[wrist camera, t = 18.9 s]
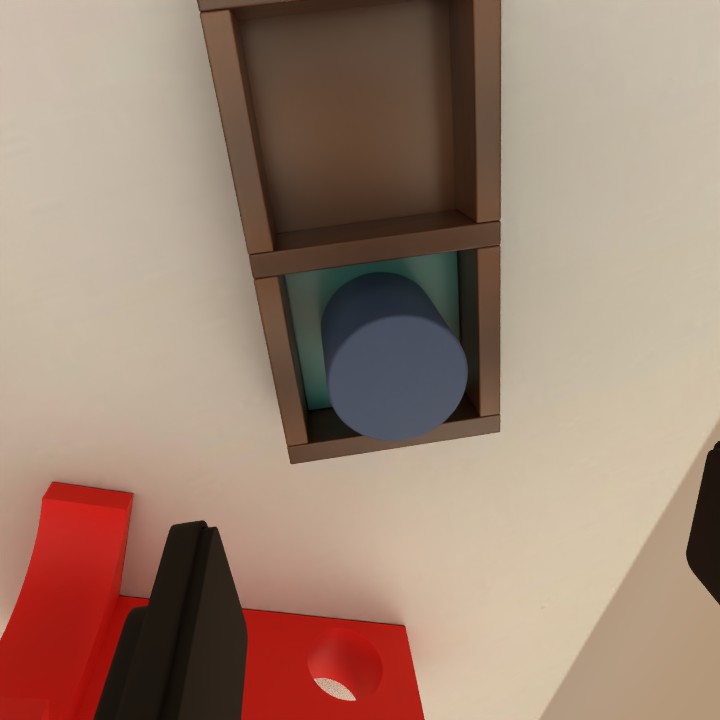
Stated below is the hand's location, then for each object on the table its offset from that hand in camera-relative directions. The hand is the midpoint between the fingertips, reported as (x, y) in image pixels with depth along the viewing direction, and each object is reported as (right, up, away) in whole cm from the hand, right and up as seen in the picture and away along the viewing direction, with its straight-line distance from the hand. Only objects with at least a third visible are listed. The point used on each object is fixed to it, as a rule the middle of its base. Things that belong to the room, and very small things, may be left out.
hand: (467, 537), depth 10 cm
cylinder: (-1, +5, +10) cm, 12 cm away
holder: (-2, +8, +10) cm, 13 cm away
